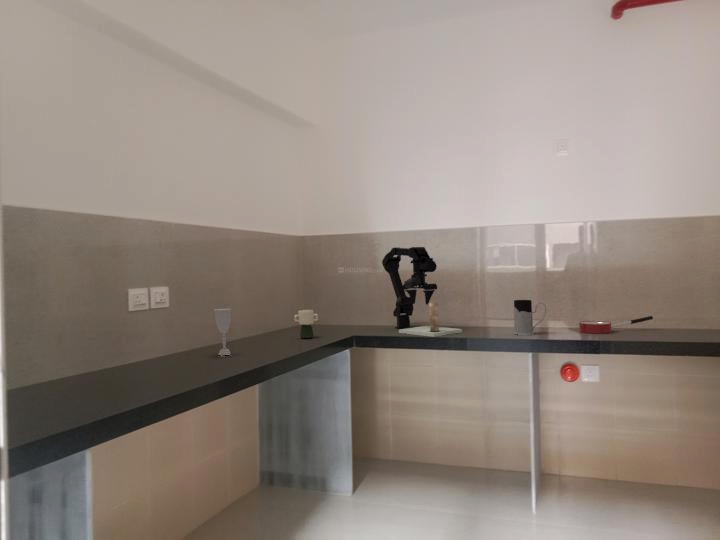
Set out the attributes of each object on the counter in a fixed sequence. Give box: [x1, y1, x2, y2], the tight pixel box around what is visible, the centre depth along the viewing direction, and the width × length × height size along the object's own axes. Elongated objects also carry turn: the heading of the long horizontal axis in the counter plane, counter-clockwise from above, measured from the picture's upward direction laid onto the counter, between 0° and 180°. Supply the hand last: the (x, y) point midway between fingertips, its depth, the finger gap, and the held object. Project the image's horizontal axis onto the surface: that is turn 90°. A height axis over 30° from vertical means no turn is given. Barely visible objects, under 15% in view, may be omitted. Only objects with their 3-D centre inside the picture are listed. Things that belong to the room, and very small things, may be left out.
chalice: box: [213, 308, 232, 357], centre depth 208 cm, size 7×7×18 cm
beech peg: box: [428, 301, 440, 332], centre depth 245 cm, size 4×4×15 cm
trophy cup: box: [293, 309, 319, 339], centre depth 248 cm, size 11×7×13 cm, turn 98°
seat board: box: [398, 325, 463, 338], centre depth 253 cm, size 23×19×2 cm
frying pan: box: [578, 315, 654, 335], centre depth 236 cm, size 32×13×6 cm, turn 97°
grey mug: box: [513, 299, 547, 336], centre depth 235 cm, size 9×14×15 cm, turn 78°
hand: (420, 304), depth 261 cm, fingers open, 9 cm apart
